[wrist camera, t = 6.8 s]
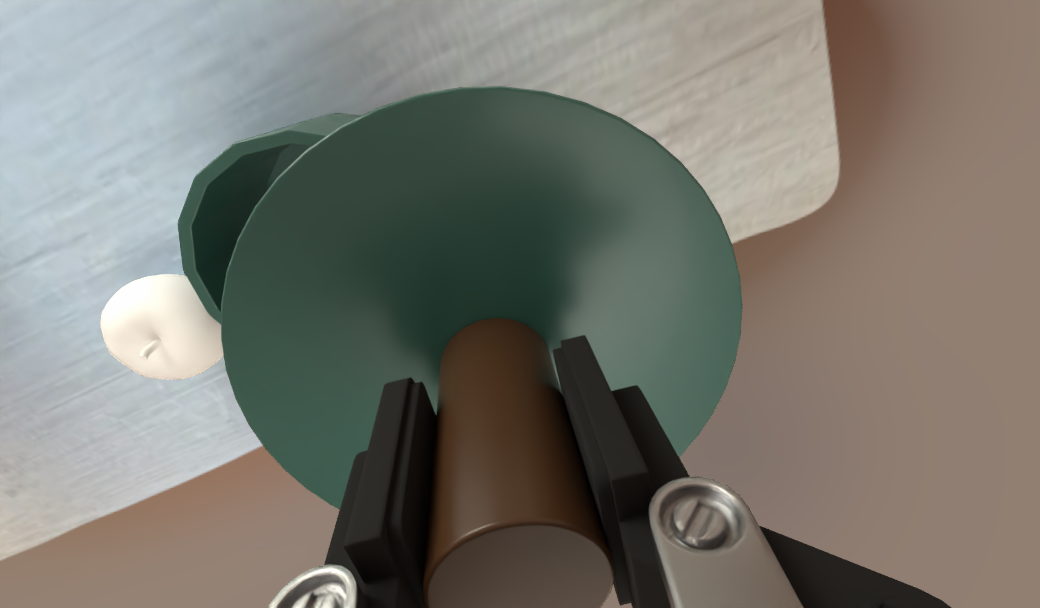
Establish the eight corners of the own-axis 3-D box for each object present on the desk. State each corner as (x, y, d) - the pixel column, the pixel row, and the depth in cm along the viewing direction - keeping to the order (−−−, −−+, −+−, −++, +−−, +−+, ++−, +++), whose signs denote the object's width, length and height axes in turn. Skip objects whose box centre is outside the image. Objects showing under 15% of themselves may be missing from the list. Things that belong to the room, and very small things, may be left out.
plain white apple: (269, 331, 36) (222, 395, 29) (176, 355, 36) (107, 424, 29) (223, 245, 33) (158, 292, 26) (122, 271, 33) (29, 325, 26)
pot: (306, 308, 36) (252, 391, 27) (226, 140, 31) (123, 170, 21) (466, 268, 36) (469, 336, 27) (415, 93, 31) (396, 102, 21)
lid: (350, 550, 16) (277, 864, 10) (133, 163, 11) (-383, 304, 4) (727, 458, 16) (900, 711, 10) (711, 22, 11) (1101, -58, 4)
